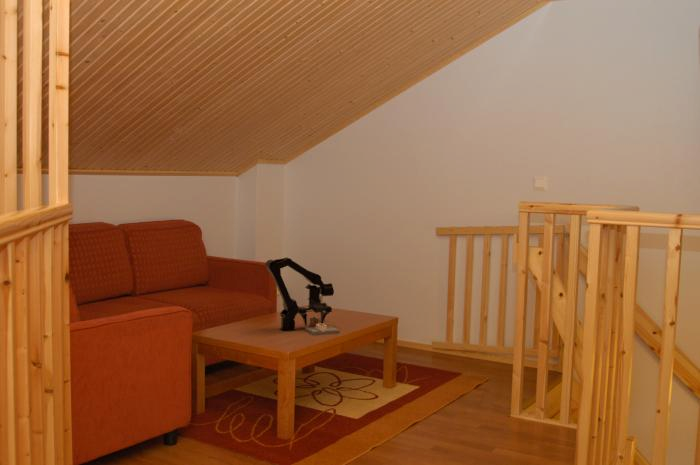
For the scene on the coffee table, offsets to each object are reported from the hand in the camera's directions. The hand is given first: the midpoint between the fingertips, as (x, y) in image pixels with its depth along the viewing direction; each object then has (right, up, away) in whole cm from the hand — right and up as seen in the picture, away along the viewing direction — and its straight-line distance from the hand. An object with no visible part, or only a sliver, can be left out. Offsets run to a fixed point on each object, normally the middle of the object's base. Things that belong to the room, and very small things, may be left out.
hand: (313, 325), depth 422 cm
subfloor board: (+5, -2, -10) cm, 11 cm away
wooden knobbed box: (0, -1, 0) cm, 1 cm away
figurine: (+3, 0, +19) cm, 19 cm away
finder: (+5, -1, -13) cm, 14 cm away
